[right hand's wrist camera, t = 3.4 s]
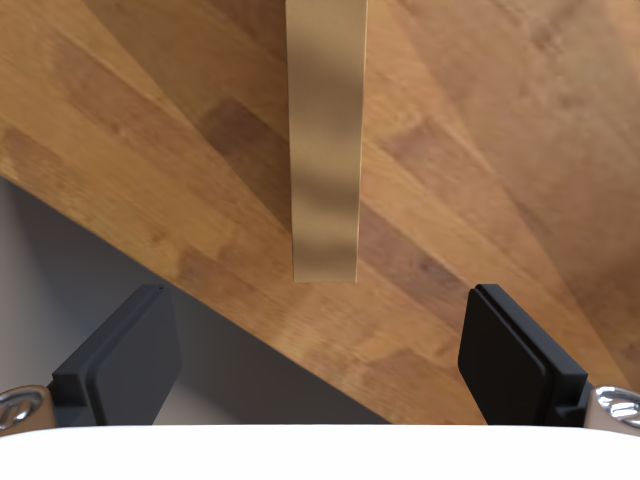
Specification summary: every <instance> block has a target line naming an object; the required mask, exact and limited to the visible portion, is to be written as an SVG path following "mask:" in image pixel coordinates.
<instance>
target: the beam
mask: <svg viewBox="0 0 640 480" xmlns="http://www.w3.org/2000/svg"><path fill="white" fill-rule="evenodd" d="M367 5H368V0H285V17H286V51H287V85H288V119H289V153H290V187H291V221H292V255H293V282H294V283H356V278H357V253H358V228H359V204H360V179H361V154H362V129H363V104H364V79H365V55H366V30H367Z"/></svg>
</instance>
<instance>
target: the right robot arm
mask: <svg viewBox="0 0 640 480" xmlns="http://www.w3.org/2000/svg"><path fill="white" fill-rule="evenodd" d="M181 367H182V356H181V350H180V344H179V338H178V332H177V326H176V320H175V314H174V308H173V302H172V296H171V292H170V290H169V289H165V287H164V285H163V284H143V285H141V286H140V287H139V288H138V289H137V290H136V291H135V292H134V293H133V294H132V295H131V296H130V297H129V298H128V299H127V300H126V301H125V302H124V303H123V304H122V305H121V306H120V307H119V308H118V309H117V310H116V311H115V312H114V313H113V314H112V315H111V316H110V317H109V318H108V319H107V320H106V321H105V322H104V323H103V324H102V325H101V326H100V327H99V328H98V329H97V330H96V331H95V332H94V333H93V334H92V335H91V336H90V337H89V338H88V339H87V340H86V341H85V342H84V343H83V344H82V345H81V346H80V347H79V348H78V349H77V350H76V351H75V352H74V353H73V354H72V355H71V356H70V357H69V358H68V359H67V360H66V361H65V362H64V363H63V364H62V365H61V366H60V367H59V368H58V369H56V371H54V372H53V373H52V376H53V379H54V380H53V381H52V382H51V383H50V384H49V385H48V386H47V387H44V386H42V385H26V386H20V387H17V388H14V389H10V390H8V391H5V392H3V393H1V394H0V480H640V394H639V393H637V392H635V391H632V390H630V389H626V388H623V387H620V386H614V385H598V386H596V387H593V386H592V385H591V384H590V383H589V382H588V381H587V380H586V379H587V376H588V373H587V372H586V371H585V370H584V369H582V368H581V367H580V366H579V365H578V364H577V363H576V362H575V361H574V360H573V359H572V358H571V357H570V356H569V355H568V354H567V353H566V352H565V351H564V350H563V349H562V348H561V347H560V346H559V345H558V344H557V343H556V342H555V341H554V340H553V339H552V338H551V337H550V336H549V335H548V334H547V333H546V332H545V331H544V330H543V329H542V328H541V327H540V326H539V325H538V324H537V323H536V322H535V321H534V320H533V319H532V318H531V317H530V316H529V315H528V314H527V313H526V312H525V311H524V310H523V309H522V308H521V307H520V306H519V305H518V304H517V303H516V302H515V301H514V300H513V299H512V298H511V297H510V296H509V295H508V294H507V293H506V292H505V291H504V290H503V289H502V288H501V287H500V286H499V285H497V284H477V285H476V287H475V289H471V290H470V291H469V296H468V302H467V308H466V314H465V320H464V326H463V332H462V338H461V344H460V350H459V356H458V367H459V371H460V373H461V375H462V377H463V379H464V381H465V382H466V384H467V386H468V388H469V390H470V392H471V394H472V396H473V398H474V399H475V401H476V403H477V405H478V407H479V409H480V411H481V413H482V415H483V416H484V418H485V420H486V422H487V424H488V425H157V426H156V425H153V426H152V424H153V422H154V420H155V418H156V416H157V414H158V413H159V411H160V409H161V407H162V405H163V403H164V401H165V399H166V398H167V396H168V394H169V392H170V390H171V388H172V386H173V384H174V382H175V380H176V379H177V377H178V375H179V373H180V371H181Z"/></svg>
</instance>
